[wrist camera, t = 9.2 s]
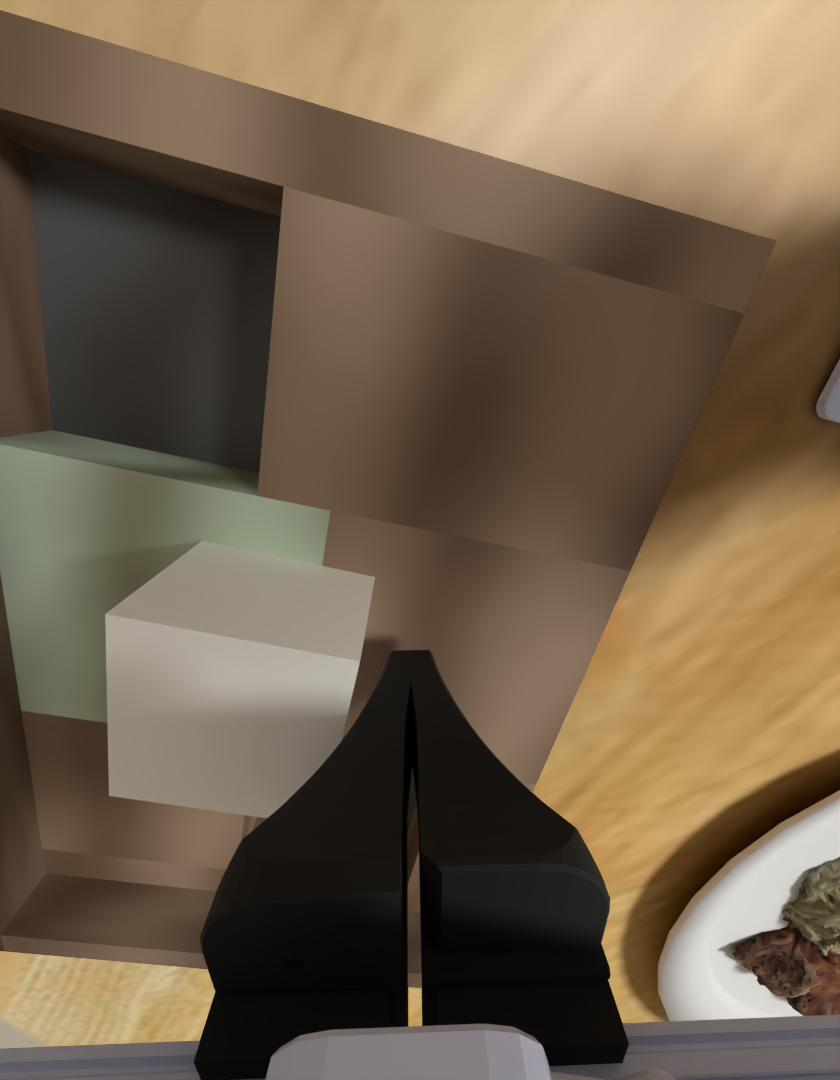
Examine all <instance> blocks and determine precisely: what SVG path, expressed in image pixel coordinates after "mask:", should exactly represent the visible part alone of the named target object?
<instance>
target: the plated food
mask: <svg viewBox="0 0 840 1080" xmlns="http://www.w3.org/2000/svg"><path fill="white" fill-rule="evenodd" d="M658 994H659V996H660V999H661V1001H662V1004H663V1006H664V1009H665V1011H666V1014H667V1016H668V1019H669V1021H693V1020H717V1019H742V1018H766V1017H791V1016H815V1015H840V790H839V791H837V792H835V793H834V794H832V795H830V796H828V797H826V798H825V799H823V800H821V801H819V802H817V803H816V804H814V805H812V806H810V807H808V808H807V809H805V810H803V811H801V812H799V813H798V814H796V815H794V816H792V817H790V818H789V819H787V820H785V821H783V822H781V823H780V824H778V825H777V826H776V827H774V828H773V829H771V830H770V831H769V832H767V833H766V834H765V835H763V836H762V837H761V838H759V839H758V840H756V841H755V842H754V843H752V844H751V845H750V846H748V847H747V848H746V849H744V850H743V851H741V852H740V853H739V854H737V855H736V856H735V857H733V858H732V859H731V860H729V861H728V862H727V863H726V864H725V865H724V866H723V867H722V868H721V869H720V870H719V871H718V872H717V873H716V874H715V875H714V876H713V877H712V878H711V879H710V880H709V881H708V882H707V883H706V884H705V885H704V886H703V887H702V888H701V889H700V890H699V891H698V892H697V893H696V894H695V895H694V896H693V897H692V899H691V900H690V902H689V903H688V905H687V906H686V908H685V909H684V911H683V912H682V914H681V915H680V917H679V918H678V920H677V921H676V923H675V924H674V926H673V927H672V929H671V930H670V931H669V934H668V937H667V940H666V943H665V945H664V948H663V951H662V954H661V957H660V960H659V962H658Z"/></svg>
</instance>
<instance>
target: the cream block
mask: <svg viewBox="0 0 840 1080" xmlns="http://www.w3.org/2000/svg"><path fill="white" fill-rule="evenodd" d="M374 580H375V577H373V576H368V575H363V574H358V573H354V572H349V571H344V570H339V569H334V568H330V567H325V566H320V565H315V564H310V563H306V562H301V561H296V560H291V559H286V558H282V557H277V556H272V555H267V554H262V553H257V552H253V551H248V550H243V549H238V548H233V547H229V546H224V545H219V544H214V543H209V542H204V541H201V542H200V543H198V544H197V545H196V546H194V547H193V548H192V549H190V550H189V551H188V552H187V553H185V554H184V555H183V556H181V557H180V558H179V559H177V560H176V561H175V562H173V563H172V564H171V565H169V566H168V567H167V568H165V569H164V570H163V571H161V572H160V573H159V574H157V575H156V576H155V577H153V578H152V579H151V580H150V581H148V582H147V583H146V584H144V585H143V586H142V587H140V588H139V589H138V590H136V591H135V592H134V593H132V594H131V595H130V596H128V597H127V598H126V599H124V600H123V601H122V602H120V603H119V604H118V605H116V606H115V607H114V608H113V609H111V610H110V611H109V612H107V613H106V614H105V629H106V677H107V725H108V773H109V796H113V797H120V798H127V799H134V800H141V801H148V802H155V803H162V804H169V805H176V806H183V807H190V808H197V809H205V810H212V811H219V812H226V813H233V814H240V815H247V816H254V817H261V818H268V817H269V816H270V815H272V814H273V813H274V812H275V811H276V810H277V809H279V808H280V807H281V806H282V805H283V804H284V803H285V802H286V801H287V800H288V799H289V798H290V797H291V796H292V795H293V794H294V793H295V792H296V791H297V790H298V789H299V788H300V787H301V786H302V785H303V784H304V783H305V782H306V781H307V780H308V779H309V778H310V777H311V776H312V775H313V774H314V773H315V772H316V771H317V770H318V769H319V767H320V766H321V765H322V764H323V763H324V762H325V760H326V759H327V758H328V757H329V756H330V754H331V753H332V752H333V751H334V750H335V748H336V747H337V746H338V745H339V743H340V742H341V741H342V737H343V733H344V728H345V724H346V720H347V716H348V711H349V707H350V703H351V698H352V694H353V690H354V685H355V681H356V677H357V672H358V668H359V664H360V659H361V653H362V648H363V642H364V636H365V631H366V625H367V620H368V614H369V608H370V603H371V597H372V591H373V586H374Z"/></svg>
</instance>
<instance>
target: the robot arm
mask: <svg viewBox="0 0 840 1080" xmlns="http://www.w3.org/2000/svg"><path fill="white" fill-rule="evenodd" d="M816 412H817V414H818V416H819V417H821V418H823V419H825V420H829V421H833V422H837V423H840V359H839V361H838V363H837V365H836V367H835V369H834V371H833V372H832V374H831V376H830V378H829V380H828V382H827V384H826V386H825V387H824V389H823V391H822V393H821V395H820V397H819V399H818V401H817V404H816ZM412 767H413V776H414V786H415V796H416V806H417V816H418V831H419V876H420V925H421V975H422V1026H413V1027H408V815H409V802H410V790H411V777H412ZM609 909H610V897H609V895H608V892H607V889H606V886H605V883H604V880H603V878H602V876H601V873H600V871H599V869H598V867H597V865H596V863H595V861H594V859H593V857H592V855H591V853H590V851H589V850H588V848H587V846H586V844H585V842H584V841H583V839H582V837H581V835H580V834H579V832H578V830H577V829H576V828H575V827H574V826H573V825H572V824H570V823H569V822H568V821H566V820H565V819H564V818H563V817H561V816H560V815H559V814H557V813H556V812H555V811H554V810H552V809H551V808H550V807H548V806H547V805H546V804H545V803H543V802H542V801H541V800H540V799H539V798H538V797H537V796H536V795H534V794H533V793H532V792H531V791H530V790H529V789H528V788H527V787H526V786H524V785H523V784H522V783H521V782H520V781H519V780H518V779H517V778H516V776H515V775H514V774H513V773H512V772H511V771H510V770H509V769H508V768H507V767H506V766H505V765H504V764H503V763H502V762H501V761H500V760H499V759H498V758H497V757H496V756H495V755H494V753H493V752H492V751H491V750H490V749H489V748H488V747H487V745H486V744H485V743H484V742H483V740H482V739H481V738H480V737H479V735H478V734H477V733H476V731H475V730H474V729H473V727H472V726H471V725H470V723H469V722H468V720H467V719H466V718H465V716H464V715H463V713H462V712H461V710H460V709H459V707H458V705H457V704H456V702H455V701H454V699H453V697H452V695H451V694H450V692H449V690H448V688H447V687H446V685H445V683H444V681H443V679H442V677H441V675H440V673H439V670H438V668H437V666H436V663H435V660H434V657H433V654H432V652H431V651H429V650H399V651H392V652H391V653H390V654H389V656H388V660H387V663H386V665H385V668H384V670H383V672H382V675H381V677H380V679H379V681H378V683H377V685H376V687H375V689H374V691H373V693H372V694H371V696H370V698H369V700H368V702H367V703H366V705H365V707H364V708H363V710H362V711H361V713H360V715H359V716H358V718H357V719H356V721H355V722H354V724H353V725H352V727H351V728H350V730H349V731H348V733H347V734H346V735H345V737H344V738H343V739H342V741H341V742H340V743H339V745H338V746H337V747H336V748H335V750H334V751H333V752H332V753H331V754H330V756H329V757H328V758H327V759H326V760H325V762H324V763H323V764H322V765H321V766H320V767H319V769H318V770H317V771H316V772H315V773H314V774H313V775H312V776H311V777H310V778H309V779H308V780H307V781H306V782H305V783H304V784H303V785H302V786H301V787H300V788H299V789H298V790H297V791H296V792H295V793H294V794H293V795H292V796H291V797H290V798H289V799H288V800H287V801H286V802H285V803H284V804H283V805H282V806H281V807H280V808H279V809H277V810H276V811H275V812H274V813H273V814H272V815H270V816H269V817H268V818H267V819H266V820H265V821H263V822H262V823H261V824H260V825H259V826H258V827H256V828H255V829H254V830H253V831H252V832H250V833H249V834H248V835H247V836H246V837H244V838H243V839H242V841H241V842H240V844H239V846H238V848H237V850H236V851H235V853H234V855H233V857H232V859H231V861H230V863H229V865H228V867H227V869H226V871H225V873H224V875H223V877H222V879H221V881H220V884H219V886H218V888H217V891H216V894H215V896H214V899H213V902H212V905H211V907H210V910H209V913H208V916H207V919H206V921H205V924H204V927H203V930H202V932H201V935H200V943H201V950H202V953H203V956H204V959H205V962H206V965H207V968H208V971H209V974H210V977H211V980H212V983H213V986H214V988H215V991H216V992H215V995H214V998H213V1002H212V1005H211V1008H210V1011H209V1014H208V1017H207V1021H206V1024H205V1027H204V1030H203V1033H202V1036H201V1040H200V1041H179V1042H155V1043H131V1044H106V1045H82V1046H57V1047H33V1048H9V1049H0V1080H840V1015H815V1016H791V1017H766V1018H742V1019H717V1020H693V1021H669V1022H644V1023H622V1021H621V1018H620V1015H619V1012H618V1009H617V1006H616V1003H615V1000H614V997H613V994H612V991H611V988H610V985H609V982H608V979H609V978H610V969H609V965H608V962H607V959H606V956H605V953H604V950H603V948H602V945H601V942H602V938H603V934H604V930H605V926H606V922H607V918H608V914H609Z"/></svg>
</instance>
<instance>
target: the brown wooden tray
mask: <svg viewBox="0 0 840 1080" xmlns="http://www.w3.org/2000/svg"><path fill="white" fill-rule="evenodd" d="M775 242H776V241H774V240H771V239H767V238H764V237H761V236H757V235H754V234H751V233H747V232H744V231H741V230H737V229H734V228H730V227H727V226H724V225H720V224H717V223H714V222H710V221H707V220H704V219H700V218H697V217H693V216H690V215H687V214H683V213H680V212H677V211H673V210H670V209H667V208H663V207H660V206H657V205H653V204H650V203H646V202H643V201H640V200H636V199H633V198H630V197H626V196H623V195H620V194H616V193H613V192H609V191H606V190H603V189H599V188H596V187H593V186H589V185H586V184H583V183H579V182H576V181H572V180H569V179H566V178H562V177H559V176H556V175H552V174H549V173H546V172H542V171H539V170H536V169H532V168H529V167H525V166H522V165H519V164H515V163H512V162H509V161H505V160H502V159H499V158H495V157H492V156H488V155H485V154H482V153H478V152H475V151H472V150H468V149H465V148H462V147H458V146H455V145H451V144H448V143H445V142H441V141H438V140H435V139H431V138H428V137H425V136H421V135H418V134H415V133H411V132H408V131H404V130H401V129H398V128H394V127H391V126H388V125H384V124H381V123H378V122H374V121H371V120H367V119H364V118H361V117H357V116H354V115H351V114H347V113H344V112H341V111H337V110H334V109H330V108H327V107H324V106H320V105H317V104H314V103H310V102H307V101H304V100H300V99H297V98H293V97H290V96H287V95H283V94H280V93H277V92H273V91H270V90H267V89H263V88H260V87H257V86H253V85H250V84H246V83H243V82H240V81H236V80H233V79H230V78H226V77H223V76H220V75H216V74H213V73H209V72H206V71H203V70H199V69H196V68H193V67H189V66H186V65H183V64H179V63H176V62H172V61H169V60H166V59H162V58H159V57H156V56H152V55H149V54H146V53H142V52H139V51H136V50H132V49H129V48H125V47H122V46H119V45H115V44H112V43H109V42H105V41H102V40H99V39H95V38H92V37H88V36H85V35H82V34H78V33H75V32H72V31H68V30H65V29H62V28H58V27H55V26H51V25H48V24H45V23H41V22H38V21H35V20H31V19H28V18H25V17H21V16H18V15H14V14H11V13H8V12H4V11H1V10H0V951H8V952H19V953H31V954H42V955H53V956H64V957H76V958H87V959H98V960H110V961H121V962H132V963H144V964H155V965H166V966H178V967H189V968H200V969H208V968H207V965H206V962H205V959H204V956H203V953H202V950H201V943H200V935H201V932H202V930H203V927H204V924H205V921H206V919H207V916H208V913H209V910H210V907H211V905H212V902H213V899H214V896H215V894H216V891H217V888H218V886H219V884H220V881H221V879H222V877H223V875H224V873H225V871H226V869H227V867H228V865H229V863H230V861H231V859H232V857H233V855H234V853H235V851H236V850H237V848H238V846H239V844H240V842H241V841H242V839H243V838H244V837H246V836H247V835H248V834H249V833H250V832H252V831H253V830H254V829H255V828H256V827H258V826H259V825H260V824H261V823H262V822H263V821H265V820H266V819H267V818H261V817H254V816H247V815H240V814H233V813H226V812H219V811H212V810H205V809H197V808H190V807H183V806H176V805H169V804H162V803H155V802H148V801H141V800H134V799H127V798H120V797H113V796H109V773H108V725H107V677H106V629H105V614H106V613H107V612H109V611H110V610H111V609H113V608H114V607H115V606H116V605H118V604H119V603H120V602H122V601H123V600H124V599H126V598H127V597H128V596H130V595H131V594H132V593H134V592H135V591H136V590H138V589H139V588H140V587H142V586H143V585H144V584H146V583H147V582H148V581H150V580H151V579H152V578H153V577H155V576H156V575H157V574H159V573H160V572H161V571H163V570H164V569H165V568H167V567H168V566H169V565H171V564H172V563H173V562H175V561H176V560H177V559H179V558H180V557H181V556H183V555H184V554H185V553H187V552H188V551H189V550H190V549H192V548H193V547H194V546H196V545H197V544H198V543H200V542H201V541H204V542H209V543H214V544H219V545H224V546H229V547H233V548H238V549H243V550H248V551H253V552H257V553H262V554H267V555H272V556H277V557H282V558H286V559H291V560H296V561H301V562H306V563H310V564H315V565H320V566H325V567H330V568H334V569H339V570H344V571H349V572H354V573H358V574H363V575H368V576H373V577H375V580H374V586H373V591H372V597H371V603H370V608H369V614H368V620H367V625H366V631H365V636H364V642H363V648H362V653H361V659H360V664H359V668H358V672H357V677H356V681H355V685H354V690H353V694H352V698H351V703H350V707H349V711H348V716H347V720H346V724H345V728H344V733H343V737H342V739H343V738H344V737H345V735H346V734H347V733H348V731H349V730H350V728H351V727H352V725H353V724H354V722H355V721H356V719H357V718H358V716H359V715H360V713H361V711H362V710H363V708H364V707H365V705H366V703H367V702H368V700H369V698H370V696H371V694H372V693H373V691H374V689H375V687H376V685H377V683H378V681H379V679H380V677H381V675H382V672H383V670H384V668H385V665H386V663H387V660H388V656H389V654H390V653H391V652H392V651H399V650H429V651H431V652H432V654H433V657H434V660H435V663H436V666H437V668H438V670H439V673H440V675H441V677H442V679H443V681H444V683H445V685H446V687H447V688H448V690H449V692H450V694H451V695H452V697H453V699H454V701H455V702H456V704H457V705H458V707H459V709H460V710H461V712H462V713H463V715H464V716H465V718H466V719H467V720H468V722H469V723H470V725H471V726H472V727H473V729H474V730H475V731H476V733H477V734H478V735H479V737H480V738H481V739H482V740H483V742H484V743H485V744H486V745H487V747H488V748H489V749H490V750H491V751H492V752H493V753H494V755H495V756H496V757H497V758H498V759H499V760H500V761H501V762H502V763H503V764H504V765H505V766H506V767H507V768H508V769H509V770H510V771H511V772H512V773H513V774H514V775H515V776H516V778H517V779H518V780H519V781H520V782H521V783H522V784H523V785H524V786H526V787H527V788H528V789H529V790H530V791H531V792H533V790H534V788H535V785H536V783H537V781H538V778H539V776H540V774H541V772H542V769H543V767H544V765H545V763H546V760H547V758H548V756H549V754H550V751H551V749H552V747H553V745H554V742H555V740H556V738H557V735H558V733H559V731H560V729H561V726H562V724H563V722H564V720H565V717H566V715H567V713H568V711H569V708H570V706H571V704H572V702H573V699H574V697H575V695H576V692H577V690H578V688H579V686H580V683H581V681H582V679H583V677H584V674H585V672H586V670H587V668H588V665H589V663H590V661H591V658H592V656H593V654H594V652H595V649H596V647H597V645H598V643H599V640H600V638H601V636H602V634H603V631H604V629H605V627H606V625H607V622H608V620H609V618H610V615H611V613H612V611H613V609H614V606H615V604H616V602H617V600H618V597H619V595H620V593H621V591H622V588H623V586H624V584H625V582H626V579H627V577H628V575H629V572H630V570H631V568H632V566H633V563H634V561H635V559H636V557H637V554H638V552H639V550H640V548H641V545H642V543H643V541H644V539H645V536H646V534H647V532H648V529H649V527H650V525H651V523H652V520H653V518H654V516H655V514H656V511H657V509H658V507H659V505H660V502H661V500H662V498H663V496H664V493H665V491H666V489H667V486H668V484H669V482H670V480H671V477H672V475H673V473H674V471H675V468H676V466H677V464H678V462H679V459H680V457H681V455H682V453H683V450H684V448H685V446H686V443H687V441H688V439H689V437H690V434H691V432H692V430H693V428H694V425H695V423H696V421H697V419H698V416H699V414H700V412H701V410H702V407H703V405H704V403H705V400H706V398H707V396H708V394H709V391H710V389H711V387H712V385H713V382H714V380H715V378H716V376H717V373H718V371H719V369H720V367H721V364H722V362H723V360H724V357H725V355H726V353H727V351H728V348H729V346H730V344H731V342H732V339H733V337H734V335H735V333H736V330H737V328H738V326H739V324H740V321H741V319H742V317H743V314H744V312H745V310H746V308H747V305H748V303H749V301H750V299H751V296H752V294H753V292H754V290H755V287H756V285H757V283H758V281H759V278H760V276H761V274H762V271H763V269H764V267H765V265H766V262H767V260H768V258H769V256H770V253H771V251H772V249H773V247H774V244H775ZM408 987H415V988H422V975H421V925H420V876H419V831H418V816H417V806H416V796H415V786H414V776H413V767H412V777H411V790H410V802H409V815H408Z"/></svg>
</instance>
